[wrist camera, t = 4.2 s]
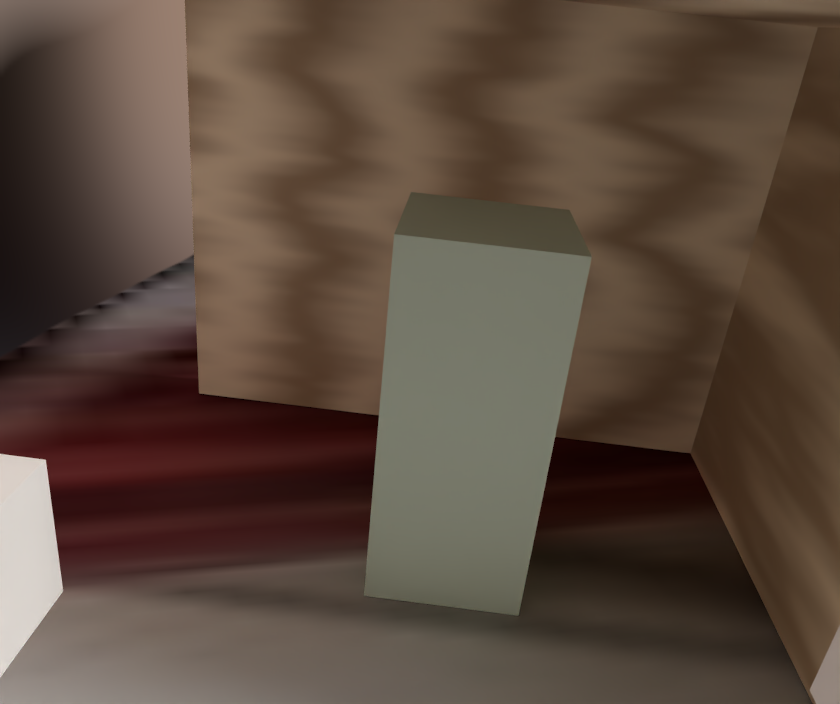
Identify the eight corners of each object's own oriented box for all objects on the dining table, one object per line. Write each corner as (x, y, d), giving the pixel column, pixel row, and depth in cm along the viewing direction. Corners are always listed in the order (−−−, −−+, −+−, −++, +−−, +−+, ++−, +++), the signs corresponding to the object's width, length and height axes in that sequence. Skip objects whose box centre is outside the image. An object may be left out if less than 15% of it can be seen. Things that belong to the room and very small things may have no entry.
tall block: (512, 518, 28) (569, 209, 23) (518, 615, 23) (591, 256, 18) (382, 502, 28) (411, 191, 23) (364, 595, 23) (394, 234, 18)
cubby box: (713, 440, 35) (855, -14, 27) (956, 875, 17) (1603, -84, 9) (209, 379, 35) (196, -82, 27) (-60, 736, 18) (-328, -273, 10)
